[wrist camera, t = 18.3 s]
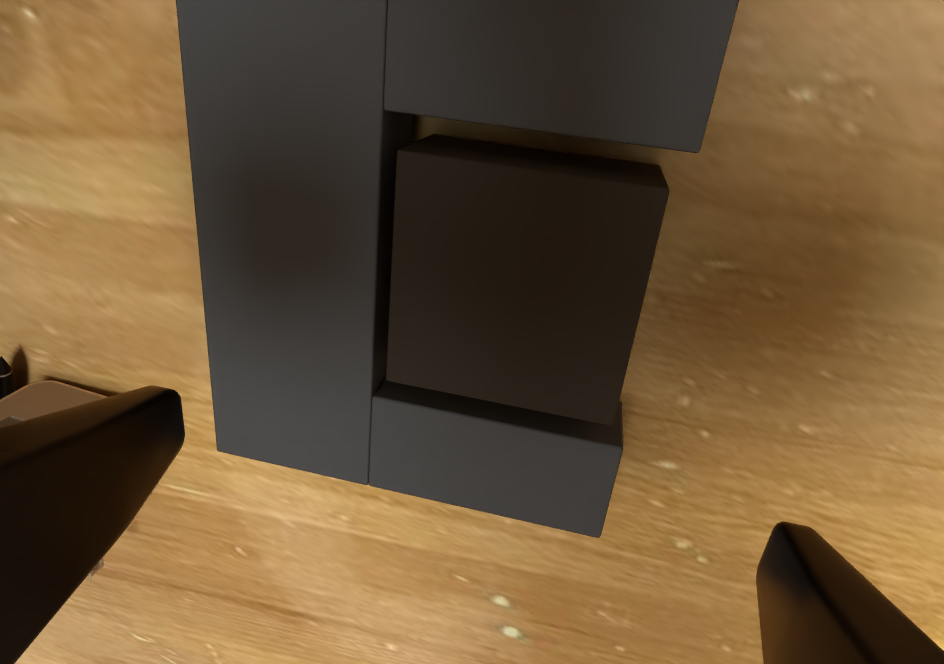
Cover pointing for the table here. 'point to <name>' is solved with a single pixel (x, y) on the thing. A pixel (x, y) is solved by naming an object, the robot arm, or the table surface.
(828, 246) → the table surface
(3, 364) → the fountain pen
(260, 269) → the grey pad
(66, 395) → the usb wall charger
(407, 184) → the black pad
